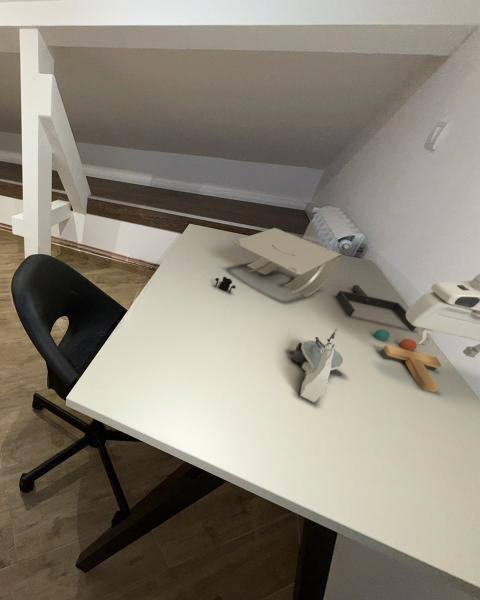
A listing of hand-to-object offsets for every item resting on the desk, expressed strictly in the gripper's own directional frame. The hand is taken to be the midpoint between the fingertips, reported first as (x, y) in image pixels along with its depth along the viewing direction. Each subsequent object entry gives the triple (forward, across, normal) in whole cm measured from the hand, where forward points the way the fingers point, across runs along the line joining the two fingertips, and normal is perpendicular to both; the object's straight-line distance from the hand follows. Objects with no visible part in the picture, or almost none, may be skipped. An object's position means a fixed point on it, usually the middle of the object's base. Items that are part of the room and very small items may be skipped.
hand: (443, 349), depth 72 cm
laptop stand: (+10, +28, -38) cm, 48 cm away
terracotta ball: (+8, -3, -13) cm, 16 cm away
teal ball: (+8, +2, -15) cm, 17 cm away
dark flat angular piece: (+10, -1, -35) cm, 36 cm away
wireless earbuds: (+10, +45, -23) cm, 51 cm away
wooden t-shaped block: (+10, 0, -1) cm, 10 cm away
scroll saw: (+10, +26, +11) cm, 30 cm away
